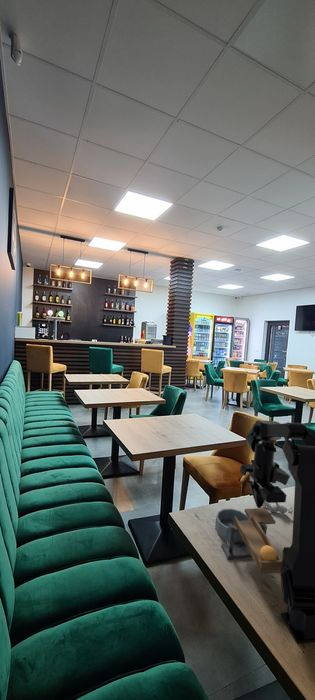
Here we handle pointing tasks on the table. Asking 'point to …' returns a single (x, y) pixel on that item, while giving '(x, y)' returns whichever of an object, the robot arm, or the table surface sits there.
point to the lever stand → (237, 544)
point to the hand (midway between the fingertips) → (258, 507)
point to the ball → (267, 553)
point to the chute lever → (258, 538)
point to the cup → (228, 517)
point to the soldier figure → (277, 508)
